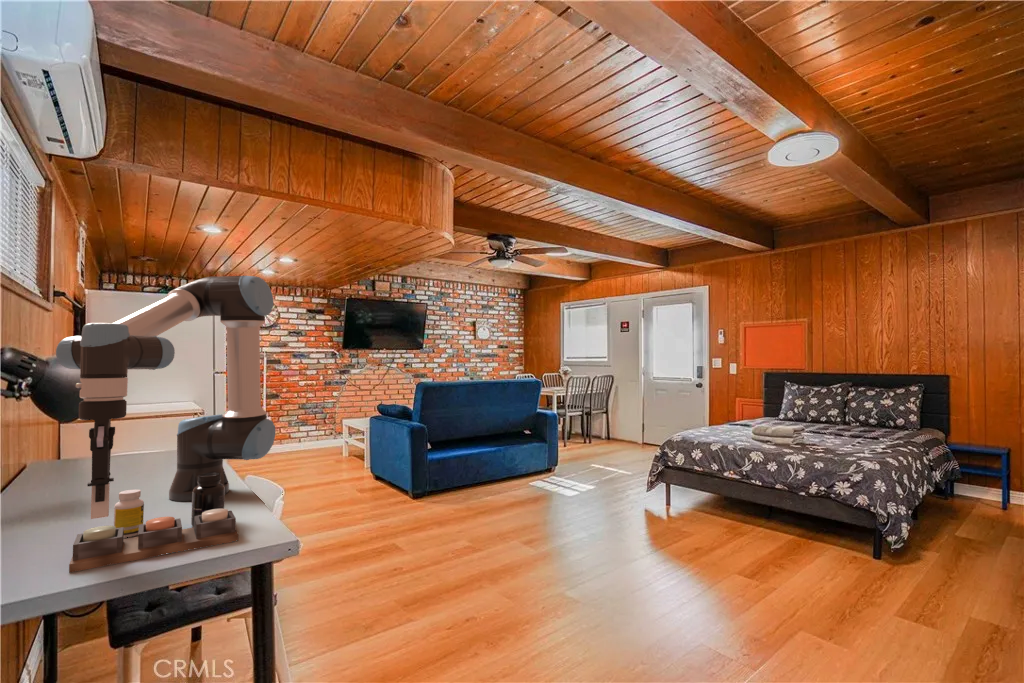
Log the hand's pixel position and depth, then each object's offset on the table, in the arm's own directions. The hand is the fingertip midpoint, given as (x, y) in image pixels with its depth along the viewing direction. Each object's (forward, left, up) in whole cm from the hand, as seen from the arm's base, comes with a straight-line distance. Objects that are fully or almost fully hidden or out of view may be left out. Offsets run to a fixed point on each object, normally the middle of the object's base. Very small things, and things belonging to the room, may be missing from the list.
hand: (99, 516), depth 101 cm
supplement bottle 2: (-23, -2, -9) cm, 25 cm away
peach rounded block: (-18, +9, -5) cm, 21 cm away
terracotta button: (-9, +4, -5) cm, 11 cm away
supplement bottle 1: (-10, -11, -9) cm, 17 cm away
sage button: (0, 0, -5) cm, 5 cm away
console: (-9, +4, -8) cm, 13 cm away
